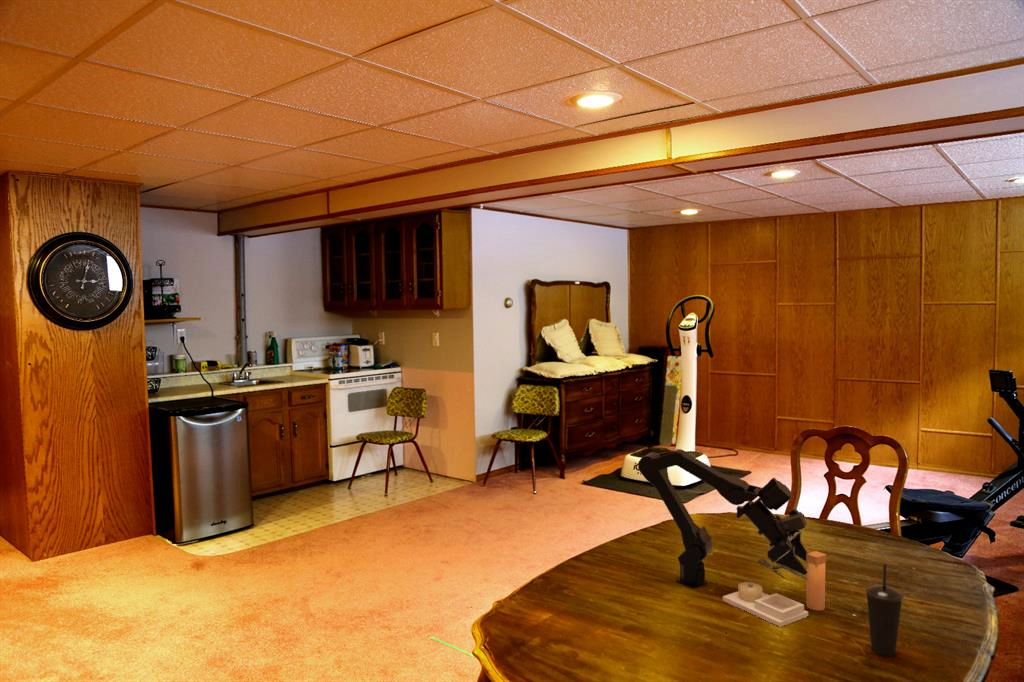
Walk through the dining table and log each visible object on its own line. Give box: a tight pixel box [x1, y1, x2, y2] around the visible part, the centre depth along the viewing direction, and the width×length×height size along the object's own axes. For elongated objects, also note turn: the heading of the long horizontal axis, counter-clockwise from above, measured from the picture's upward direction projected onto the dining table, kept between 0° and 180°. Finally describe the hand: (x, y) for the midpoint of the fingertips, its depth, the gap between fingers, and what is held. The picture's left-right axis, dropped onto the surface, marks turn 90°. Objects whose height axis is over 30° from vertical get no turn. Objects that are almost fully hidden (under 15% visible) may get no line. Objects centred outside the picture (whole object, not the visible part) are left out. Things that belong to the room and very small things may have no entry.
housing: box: [722, 581, 809, 628], centre depth 181 cm, size 18×11×5 cm, turn 32°
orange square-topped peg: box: [805, 550, 827, 611], centre depth 182 cm, size 4×4×14 cm
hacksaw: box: [758, 558, 837, 589], centre depth 204 cm, size 24×10×2 cm, turn 14°
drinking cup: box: [865, 564, 904, 657], centre depth 159 cm, size 8×8×20 cm
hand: (808, 567), depth 183 cm, fingers open, 9 cm apart
